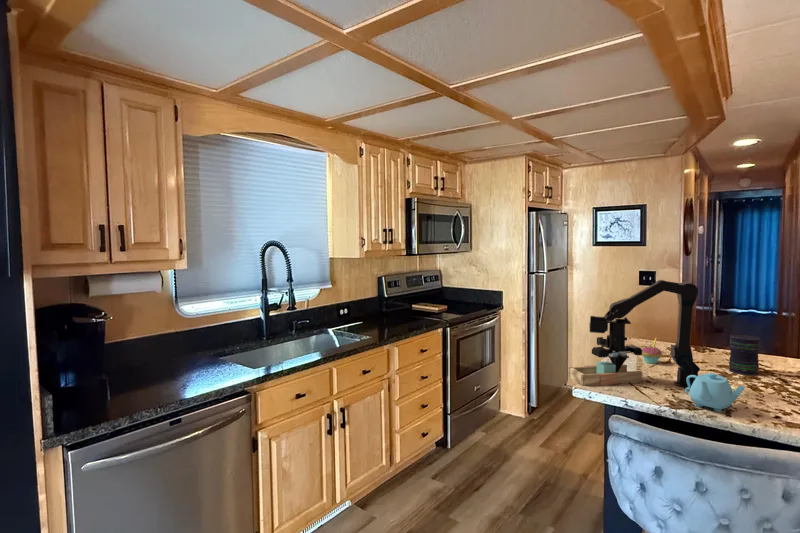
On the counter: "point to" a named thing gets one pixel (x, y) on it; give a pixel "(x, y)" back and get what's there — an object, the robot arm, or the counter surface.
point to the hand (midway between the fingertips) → (616, 372)
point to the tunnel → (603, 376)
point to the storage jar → (744, 354)
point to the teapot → (712, 391)
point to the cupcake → (651, 354)
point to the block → (605, 367)
